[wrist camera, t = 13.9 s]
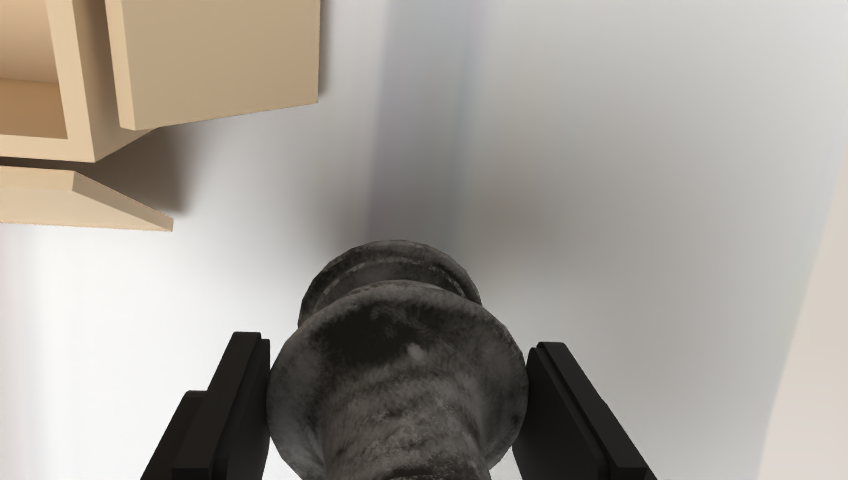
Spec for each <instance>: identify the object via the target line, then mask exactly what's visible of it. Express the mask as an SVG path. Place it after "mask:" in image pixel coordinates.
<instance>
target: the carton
mask: <svg viewBox="0 0 848 480" xmlns="http://www.w3.org/2000/svg"><path fill="white" fill-rule="evenodd" d="M320 2H321V0H0V156H6V157H21V158H35V159H50V160H64V161H79V162H93V163H95V162H97V161H99V160H101V159H102V158H104V157H106V156H108V155H110V154H111V153H113V152H115V151H117V150H118V149H120V148H122V147H124V146H126V145H127V144H129V143H131V142H133V141H134V140H136V139H138V138H140V137H142V136H143V135H145V134H147V133H149V132H151V131H152V130H154V129H156V128H158V127H163V126H170V125H176V124H183V123H189V122H196V121H203V120H209V119H216V118H222V117H229V116H235V115H242V114H248V113H255V112H261V111H268V110H275V109H281V108H288V107H294V106H301V105H307V104H314V103H318V75H319V39H320ZM0 223H15V224H34V225H54V226H73V227H93V228H112V229H132V230H151V231H171V232H172V230H173V218H171V217H169V216H167V215H165V214H163V213H161V212H159V211H156V210H154V209H152V208H150V207H148V206H146V205H144V204H142V203H140V202H138V201H136V200H134V199H132V198H130V197H128V196H125V195H123V194H121V193H119V192H117V191H115V190H113V189H111V188H109V187H107V186H105V185H103V184H101V183H99V182H96V181H94V180H92V179H90V178H88V177H86V176H84V175H82V174H80V173H78V172H76V171H70V170H55V169H40V168H25V167H10V166H0Z"/></svg>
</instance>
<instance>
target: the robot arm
mask: <svg viewBox="0 0 848 480" xmlns="http://www.w3.org/2000/svg"><path fill="white" fill-rule="evenodd" d="M526 370H527V374H528V378H529V382H530V383H529V396H528V403H527V410H526V414H525V417H524V421H523V424H522V426H521V429H520V432H519V434H518V437H517V438H516V439H515V441H514V442H513V444H512V451H513V454H514V457H515V460H516V463H517V465H518V468H519V471H520V474H521V476H522V479H523V480H657V478H656V477H655V475H654V474H653V472H652V471H651V469H650V468H649V466H648V465H647V463H646V462H645V460H644V459H643V457H642V456H641V454H640V453H639V451H638V450H637V449H636V447H635V446H634V444H633V443H632V441H631V440H630V438H629V437H628V435H627V434H626V432H625V431H624V429H623V428H622V426H621V425H620V423H619V422H618V420H617V419H616V417H615V416H614V414H613V413H612V411H611V410H610V409H609V407H608V406H607V404H606V403H605V402H604V401H603V400H602V399H601V397H600V396H599V394H598V393H597V391H596V390H595V388H594V387H593V385H592V384H591V382H590V381H589V379H588V378H587V376H586V375H585V373H584V372H583V370H582V369H581V367H580V366H579V364H578V363H577V361H576V360H575V358H574V357H573V356H572V354H571V353H570V351H569V350H568V348H567V347H566V345H565V344H564V343H561V342H539V343H538V344H537V347H536V348H533V347H532V348H531V349H530V351H529V354H528V359H527V364H526ZM269 373H270V340H269V339H261V333H260V332H234V333H233V335H232V337H231V339H230V341H229V343H228V345H227V348H226V350H225V352H224V354H223V356H222V359H221V361H220V363H219V365H218V367H217V369H216V372H215V374H214V376H213V378H212V380H211V382H210V385H209V387H208V389H207V391H192V390H189V391H187V392H186V393H185V395H184V396H183V398H182V400H181V402H180V404H179V405H178V407H177V409H176V411H175V413H174V415H173V417H172V419H171V421H170V423H169V425H168V427H167V429H166V431H165V432H164V434H163V436H162V438H161V440H160V442H159V444H158V446H157V448H156V450H155V452H154V454H153V456H152V457H151V459H150V461H149V463H148V465H147V467H146V469H145V471H144V473H143V475H142V477H141V479H140V480H262V476H263V472H264V468H265V463H266V459H267V455H268V450H269V443H270V434H269V432H268V426H267V420H266V389H267V384H268V378H269Z"/></svg>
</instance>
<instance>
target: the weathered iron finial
mask: <svg viewBox="0 0 848 480" xmlns="http://www.w3.org/2000/svg"><path fill="white" fill-rule="evenodd" d="M529 383H530V382H529V378H528V374H527V370H526V366H525V362H524V358H523V354H522V352H521V350H520V349H519V347H518V346H517V344H516V342H515V341H514V339H513V338H512V336H511V334H510V333H509V331H508V330H507V328H506V326H504V325H503V324H502V323H501V322H500V321H499V320H497V319H496V318H495V317H494V316H493V315H492V314H490V313H489V312H488V311H487V310H486V309H485V308H483V307H482V303H481V300H480V296H479V292H478V290H477V288H476V286H475V285H474V283H473V282H472V280H471V278H470V277H469V275H468V274H467V272H466V271H465V270H464V269H463V268H462V267H461V266H460V265H459V264H458V263H456V262H455V261H454V260H453V259H452V258H451V257H450V256H448V255H447V254H445V253H442V252H440V251H438V250H436V249H434V248H432V247H430V246H428V245H425V244H420V243H415V242H410V241H405V240H389V241H375V242H372V243H368V244H365V245H362V246H359V247H355V248H352V249H350V250H348V251H347V252H345V253H344V254H342V255H340V256H339V257H337V258H335V259H334V260H332V261H330V262H329V263H328V264H327V265H326V266H325V267H324V268H323V270H322V271H321V272H320V273H319V274H318V275H317V276H316V277H315V278H314V279H313V280H312V282H311V284H310V286H309V288H308V290H307V292H306V294H305V296H304V298H303V300H302V303H301V309H300V314H299V319H298V329H297V330H296V331H295V332H294V333H293V334H292V336H291V337H290V338H289V339H288V340H287V341H286V342H285V343H284V345H283V347H282V349H281V351H280V353H279V355H278V357H277V358H276V360H275V362H274V364H273V366H272V368H271V370H270V373H269V378H268V384H267V389H266V420H267V426H268V432H269V434H270V436H271V438H272V440H273V442H274V444H275V446H276V448H277V450H278V452H279V454H280V456H281V458H282V459H283V460H284V461H285V462H286V463H287V464H288V465H289V466H290V467H291V468H292V469H293V470H294V472H295V473H296V474H297V475H298V476H299V477H300V478H301V479H302V480H491V476H490V473H489V470H490V469H491V468H492V467H494V466H495V465H496V464H497V463H498V462H499V461H500V460H501V459H502V458H503V456H504V455H505V453H506V452H507V451H508V449H509V448H510V446H511V445H512V444H513V442H514V441H515V439H516V438H517V437H518V434H519V432H520V429H521V426H522V424H523V421H524V417H525V414H526V410H527V403H528V396H529Z"/></svg>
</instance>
